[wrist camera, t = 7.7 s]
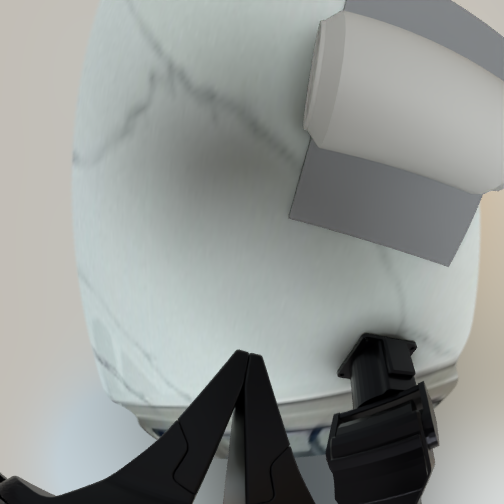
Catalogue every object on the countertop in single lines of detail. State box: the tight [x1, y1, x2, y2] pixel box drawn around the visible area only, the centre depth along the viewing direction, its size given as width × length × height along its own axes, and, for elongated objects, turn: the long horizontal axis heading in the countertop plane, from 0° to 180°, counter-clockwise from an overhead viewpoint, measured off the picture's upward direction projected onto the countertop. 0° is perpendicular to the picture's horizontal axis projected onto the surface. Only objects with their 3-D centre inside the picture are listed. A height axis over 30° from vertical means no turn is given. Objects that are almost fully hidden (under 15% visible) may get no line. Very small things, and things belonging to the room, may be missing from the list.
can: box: [303, 10, 504, 195], centre depth 11 cm, size 8×8×12 cm
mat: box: [289, 0, 504, 267], centre depth 15 cm, size 20×14×1 cm
